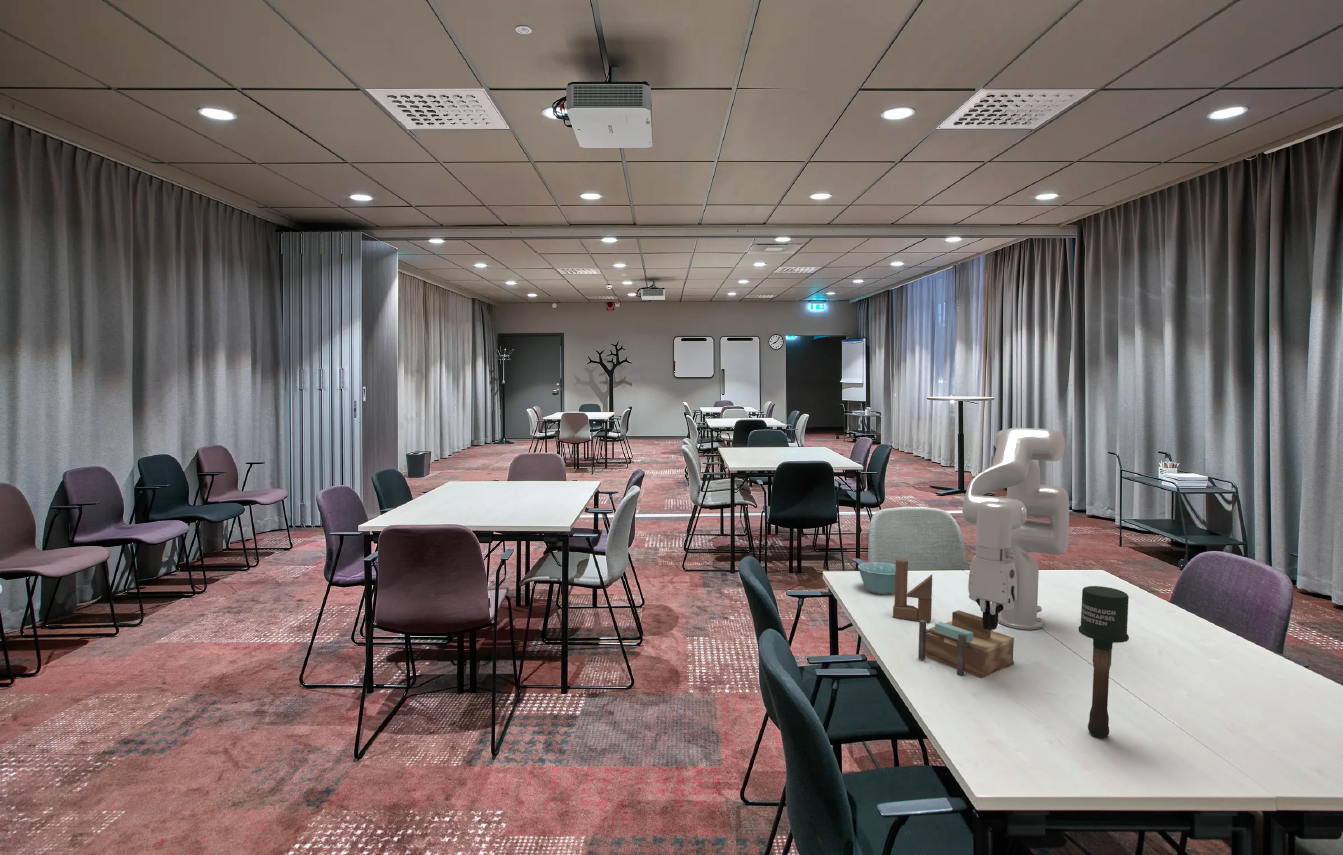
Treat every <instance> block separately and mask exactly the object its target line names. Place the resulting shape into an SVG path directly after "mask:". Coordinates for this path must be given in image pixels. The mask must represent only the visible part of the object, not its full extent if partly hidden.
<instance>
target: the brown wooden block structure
mask: <svg viewBox="0 0 1343 855" xmlns="http://www.w3.org/2000/svg"><path fill="white" fill-rule="evenodd" d="M895 565H896V567H895V593H894V604H893V607H892V618H895V619H899V620H907V621H912V622H913V621H914V622H919V621H920V620H924V621H926V624H931V621H932V604H933V603H932V602H933V600H932V597H933V574H930V575H929V576H928V577H926V578H925V579H923V581H921V582H920V583H919V584H917V585H916V586H915V587H913V588H911V590H909V591H908V577H909V576H908V575H909V574H908V573H909V567H908V566H909V560H908V559H905V558H900V557H899V558H895ZM908 598H914V599H917V600H918V601H917V607H916V606H914V605H912V604H911V605H909V604H908Z"/></svg>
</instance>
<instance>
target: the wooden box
mask: <svg viewBox="0 0 1343 855" xmlns="http://www.w3.org/2000/svg"><path fill="white" fill-rule="evenodd" d="M918 623H919V626H918V627H919V628H918V653H917V654H918V657H917V659H918V660H920V661H921V662H922V661H925V660H926V658H928V659H930V660H933V661H935V662H938V663H941V664H943V665H945V666H948V667H951V668H953V669H956V675H957V676H960V677H963V676H965V673H966V674H969V675H972V676H975V677H976V678H980V679H983V678H985V677H987V676H990V675H992V674H994V673H997V672H999V671H1002V670H1003V669H1006V668H1008V667H1010V666H1012V665H1015V660H1014V647H1015V646H1014V645H1015V641H1014V642H1011V643H1009V644H1007V645H1004V646H1002V647H999V648H997V649H994V650H992V651H989V652H984V651H982V652H981V651H979V650H976V649H973V648H970V647H967V646H970V644H969V643H966V635H965V634H963V633H960V634H958V646H954V645H951V644H948V643H946V642H944V638H942V637H939V636H936V635H935V634H933V633H930V632H931V630H929V628H927V623H926V621H924V620H920V621H918Z"/></svg>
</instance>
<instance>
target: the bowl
mask: <svg viewBox="0 0 1343 855" xmlns="http://www.w3.org/2000/svg"><path fill="white" fill-rule="evenodd" d="M857 567H858V568H857V569H858V571H859V575H860V578H861V580H862V583H863V586H864V588H865V589H866V590H867V591H869V592H870V593H872V594H875V595H876V594H877V595H882V596H883V595H884V596H885V595H893V594H895V567H896V563H895V564H893V563H889V562H888V563H887V562H878V561H877V562H875V561H873V562H864V563H859V564H858V565H857Z"/></svg>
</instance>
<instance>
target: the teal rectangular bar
mask: <svg viewBox="0 0 1343 855" xmlns="http://www.w3.org/2000/svg"><path fill="white" fill-rule="evenodd" d="M946 623H947V622H943V621H939V622H936V623H934V627H935V632H937V633H940V634H943V635H945V636H948V637H951V638H954V639H957V640H958V634H960V633H963V634H965V635H966V643H969V642H972V641H973V632H970V631H967V630H964V629H961V628H958V627H955V626H952V625H949V624H946Z"/></svg>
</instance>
